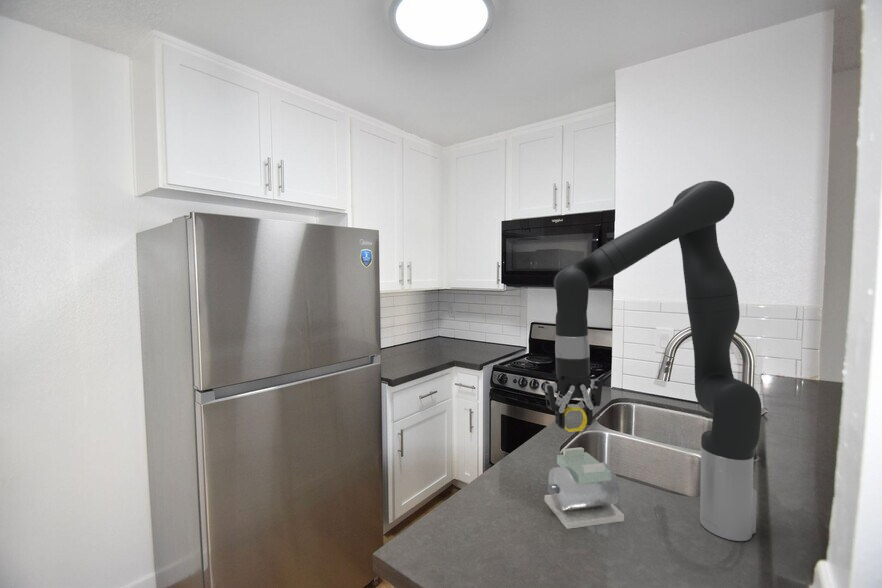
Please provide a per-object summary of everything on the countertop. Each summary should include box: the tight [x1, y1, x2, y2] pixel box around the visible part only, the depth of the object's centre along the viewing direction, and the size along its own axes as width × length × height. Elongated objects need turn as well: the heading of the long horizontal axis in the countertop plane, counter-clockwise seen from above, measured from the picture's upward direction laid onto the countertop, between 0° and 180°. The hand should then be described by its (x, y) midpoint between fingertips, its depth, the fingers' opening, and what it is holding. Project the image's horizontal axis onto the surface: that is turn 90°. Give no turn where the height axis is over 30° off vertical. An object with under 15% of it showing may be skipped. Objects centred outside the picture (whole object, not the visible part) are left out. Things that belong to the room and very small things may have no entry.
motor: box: [544, 447, 625, 530], centre depth 92 cm, size 16×11×13 cm
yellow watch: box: [563, 403, 587, 433], centre depth 91 cm, size 6×3×6 cm, turn 97°
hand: (574, 425), depth 91 cm, fingers closed on yellow watch, 6 cm apart
